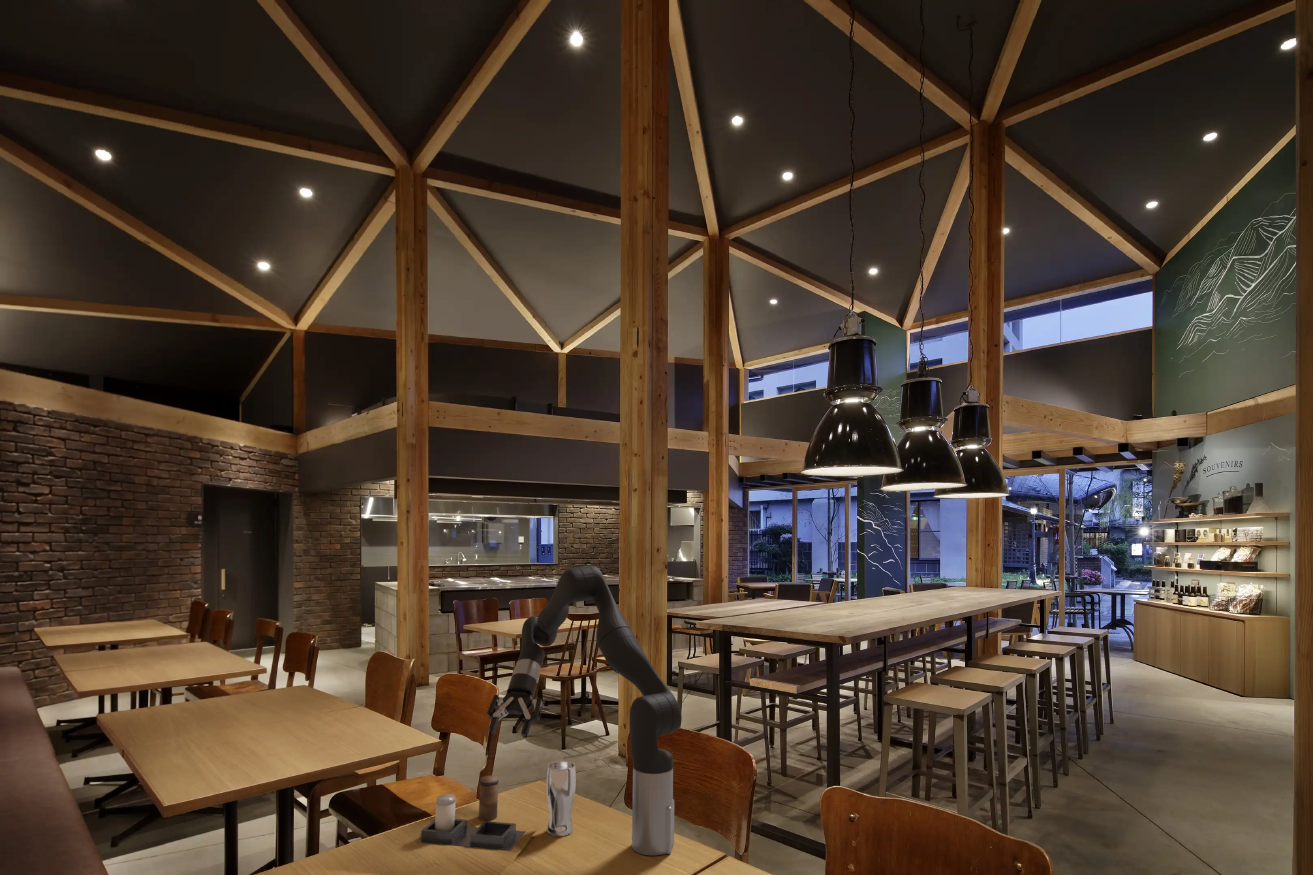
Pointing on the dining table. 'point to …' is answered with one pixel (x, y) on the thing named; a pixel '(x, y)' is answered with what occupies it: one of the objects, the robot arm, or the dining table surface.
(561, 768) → the beer glass
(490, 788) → the brown wooden cylinder
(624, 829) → the dining table surface
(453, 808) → the salt shaker
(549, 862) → the dining table surface
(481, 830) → the condiment caddy
